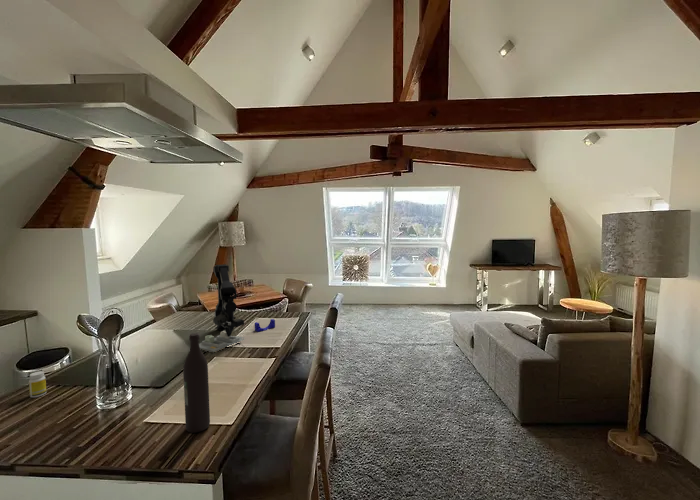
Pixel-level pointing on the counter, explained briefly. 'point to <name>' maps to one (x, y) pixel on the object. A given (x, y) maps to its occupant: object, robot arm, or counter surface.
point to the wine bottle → (196, 388)
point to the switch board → (219, 343)
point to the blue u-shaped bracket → (271, 325)
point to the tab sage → (209, 338)
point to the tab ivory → (223, 334)
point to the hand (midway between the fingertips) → (229, 336)
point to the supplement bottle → (37, 384)
